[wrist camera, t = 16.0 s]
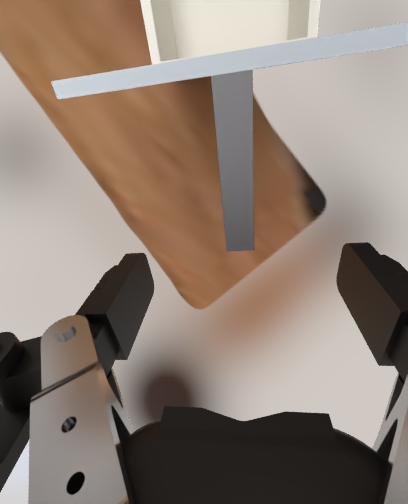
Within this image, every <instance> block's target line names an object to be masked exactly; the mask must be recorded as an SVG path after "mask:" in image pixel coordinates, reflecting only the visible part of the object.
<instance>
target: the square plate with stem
mask: <svg viewBox="0 0 408 504" xmlns="http://www.w3.org/2000/svg"><path fill="white" fill-rule="evenodd" d="M407 45H408V22H405V23H399V24H393V25H387V26H381V27H375V28H370V29H363V30H357V31H351V32H345V33H339V34H333V35H327V36H322V37H315V38H309V39H303V40H297V41H291V42H285V43H279V44H273V45H267V46H261V47H255V48H249V49H243V50H237V51H231V52H225V53H219V54H213V55H207V56H201V57H195V58H189V59H183V60H177V61H171V62H165V63H159V64H153V65H147V66H141V67H135V68H129V69H123V70H117V71H111V72H105V73H99V74H93V75H87V76H81V77H75V78H69V79H63V80H57V81H51V83H52V86H53V88H54V91H55V93H56V96H57V98H58V99H64V98H71V97H77V96H84V95H90V94H97V93H103V92H109V91H116V90H122V89H129V88H135V87H142V86H148V85H155V84H161V83H168V82H174V81H181V80H187V79H194V78H200V77H207V76H211V82H212V93H213V104H214V115H215V126H216V137H217V149H218V160H219V171H220V182H221V193H222V204H223V215H224V227H225V238H226V249H227V251H243V250H254V178H253V83H252V81H253V78H252V69H258V68H265V67H271V66H278V65H284V64H291V63H297V62H304V61H310V60H317V59H323V58H330V57H336V56H343V55H349V54H356V53H362V52H369V51H375V50H382V49H388V48H394V47H401V46H407Z"/></svg>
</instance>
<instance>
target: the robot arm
mask: <svg viewBox="0 0 408 504" xmlns="http://www.w3.org/2000/svg"><path fill="white" fill-rule="evenodd" d="M337 286H338V290H339V292H340V294H341V296H342V298H343V300H344V302H345V304H346V305H347V307H348V309H349V311H350V313H351V315H352V317H353V318H354V320H355V322H356V324H357V325H358V328H359V329H360V331H361V333H362V335H363V337H364V339H365V341H366V343H367V345H368V346H369V348H370V350H371V352H372V354H373V356H374V357H375V359H376V361H377V363H378V365H379V366H395V368H396V369H397V371H398V375H397V377H396V379H395V382H394V385H393V389H392V392H391V395H390V399H389V402H388V405H387V409H386V412H385V415H384V418H383V422H382V425H381V428H380V431H379V433H378V436H377V438H376V441H375V443H374V446H373V448H370V447H369V446H367V445H366V444H365V443H363V442H361V441H360V440H358V439H356V438H354V437H353V436H351V435H349V434H346V433H344V432H342V431H340V430H337V429H334V428H333V426H332V423H331V420H330V417H329V414H324V413H302V412H282V413H278V414H274V415H270V416H266V417H261V418H257V419H253V420H249V421H239V420H236V419H233V418H230V417H227V416H224V415H221V414H218V413H215V412H212V411H209V410H207V409H204V408H194V407H173V406H164V410H163V415H162V419H159V420H157V421H154V422H151V423H149V424H147V425H145V426H143V427H141V428H139V429H138V430H136V431H135V432H134V429H133V427H132V424H131V422H130V420H129V417H128V414H127V411H126V408H125V405H124V402H123V399H122V396H121V393H120V389H119V386H118V383H117V380H116V377H115V374H114V371H113V369H112V366H113V364H114V361H115V360H127V358H128V356H129V354H130V351H131V348H132V346H133V344H134V341H135V339H136V336H137V333H138V331H139V329H140V326H141V324H142V321H143V319H144V316H145V313H146V311H147V309H148V306H149V304H150V301H151V299H152V296H153V293H154V282H153V278H152V274H151V271H150V267H149V264H148V260H147V257H146V255H145V254H144V253H131V254H125V256H124V257H123V259H122V260H121V261H120V263H119V265H116V266H114V267H112V268H111V269H110V270H109V271H107V272H106V273H105V274H104V275H103V277H102V278H101V280H100V281H99V283H98V284H97V285H96V287H95V288H94V290H93V291H92V292H91V293H90V295H89V296H88V298H87V299H86V300H85V302H84V303H83V305H82V306H81V307H80V309H79V310H78V312H77V313H76V314H75V315H73V316H68V317H65V318H63V319H61V320H59V321H57V322H55V323H54V324H53V325H51V326H50V327H49V328H48V329H47V330H46V331H45V333H44V334H43V336H41V337H37V338H33V339H30V340H26V341H22V342H20V341H19V340H18V339H17V337H16V336H15V335H14V334H13V333H11V332H2V333H0V492H1V490H2V488H3V486H4V484H5V483H6V481H7V479H8V477H9V475H10V473H11V472H12V470H13V468H14V466H15V464H16V462H17V461H18V459H19V457H20V455H21V453H22V451H23V450H24V448H25V446H26V444H27V442H28V440H29V439H30V444H29V447H30V448H29V504H408V271H407V270H406V269H405V268H404V267H403V266H402V265H401V264H400V263H399V262H397V261H395V260H393V259H391V258H389V257H388V256H386V255H380V254H379V253H378V252H377V251H376V250H375V249H374V247H373V246H371V244H370V243H367V242H366V243H346V244H345V245H344V246H343V249H342V254H341V258H340V263H339V268H338V273H337Z"/></svg>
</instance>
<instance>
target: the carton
mask: <svg viewBox="0 0 408 504" xmlns="http://www.w3.org/2000/svg"><path fill="white" fill-rule="evenodd" d="M140 1H141V7H142V12H143V17H144V23H145V28H146V34H147V39H148V45H149V50H150V55H151V61H152V65H153V64H159V63H165V62H171V61H177V60H183V59H189V58H195V57H201V56H207V55H213V54H219V53H225V52H231V51H237V50H243V49H249V48H255V47H261V46H267V45H273V44H279V43H285V42H291V41H297V40H303V39H309V38H315V37H318V27H319V15H320V4H321V0H140Z"/></svg>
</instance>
